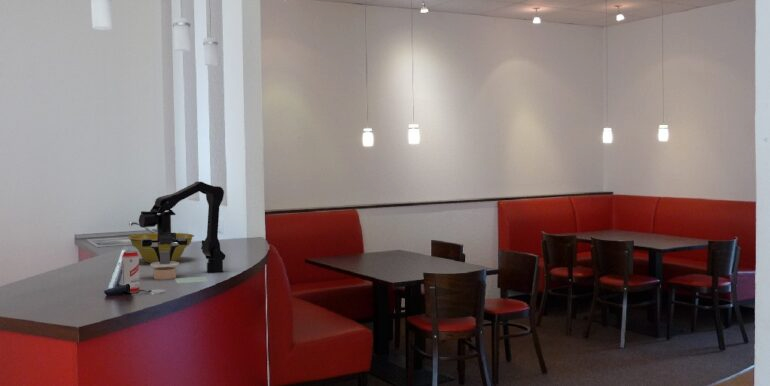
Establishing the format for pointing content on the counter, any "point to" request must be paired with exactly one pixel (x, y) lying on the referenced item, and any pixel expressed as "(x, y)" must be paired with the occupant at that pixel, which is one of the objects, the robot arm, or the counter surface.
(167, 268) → the bowl
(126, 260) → the beer can
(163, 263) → the lid
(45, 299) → the counter surface
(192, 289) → the counter surface
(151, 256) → the planter bowl
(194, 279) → the mat
